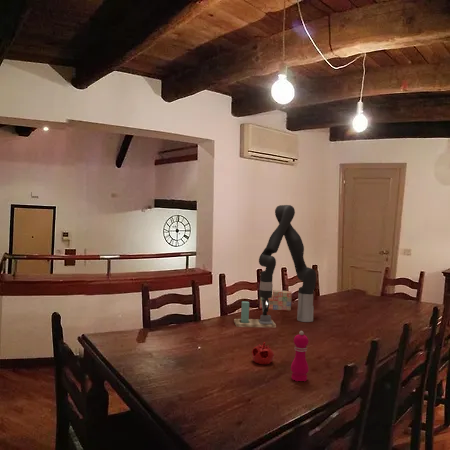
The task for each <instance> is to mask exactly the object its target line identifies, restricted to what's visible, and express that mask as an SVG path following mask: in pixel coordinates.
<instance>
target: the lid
mask: <svg viewBox="0 0 450 450" xmlns="http://www.w3.org/2000/svg"><path fill="white" fill-rule="evenodd" d="M259 318H260V320H258V321H259V323H260V324H273V323H272V321H271V320H272V315H270V314H267V315H263V314H260V317H259Z"/></svg>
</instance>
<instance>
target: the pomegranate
mask: <svg viewBox="0 0 450 450" xmlns="http://www.w3.org/2000/svg"><path fill="white" fill-rule="evenodd" d="M269 346H272V345H271V344H268V345H266V341H263V343H262V345H261V344H260V343H259V344H257V345H256V346H255V347H253V348H252V351H251V356H252V361H253V362H254V363H256V364H259V365H270V364H271V363H272V362H273V361H274V358H275V353H274V351H273V350H272V349H271V347H269Z"/></svg>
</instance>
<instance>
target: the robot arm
mask: <svg viewBox="0 0 450 450" xmlns="http://www.w3.org/2000/svg"><path fill="white" fill-rule="evenodd" d="M274 214H275V218H276V220H277V222H278V226H277V227H276V228H275V229H274V231H273V232H272V233H271V235H270V237H269V238H268V240H267V241H268V242H267V244H266V247H265V248H264V249H263V251H262V252H261V254H260V256H259V257H258V264H259V265H260V266H261V267H265V270H263V271H262V270H261V272H260V280H259V281H260V283H259V290H258V291H259V292H258V295H259V298H260V297H262V298H263V300H262V315H268V312H269V310H270V309H269V300H268V298H271V297H272V294H273V284H274V283H273V278H274V277H273V275H274V273H275V270H276V269H275V268H276V266H277V259H276V258H275V256H273V255H274V254H276V253H277V252H278V251H279V248H280V246H281V242H282V239H283V238H284V239H285V241H286V245H287V248H288V251H289V253H290V255H291V258H292V261H293V265H294V269H295V273H296V276H297V279H298V280H300V281H301V282H302V286H301V287H298V295H297V296H298V297H297V311H296V313H297V316H296V320H297V321H298V322H304V323H310V322H314V307H315V306H314V291H315V289H316V285H317V284H316V282H317V273H316V270H315V269H313V268H311V267H308V265H307V264H306V261H305V259H304V254H305V253H304V252H305V246H304V243H303V240H302V237H301V236H300V234H299V233H298V231H296V229H295V228H294V226H293V225H292V224H291V222H292V221H293V219H294V217H295V214H296V211H295V207H293V205H291V204H281V205H280V204H279V205H278V206H276V207H275V209H274Z"/></svg>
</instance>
